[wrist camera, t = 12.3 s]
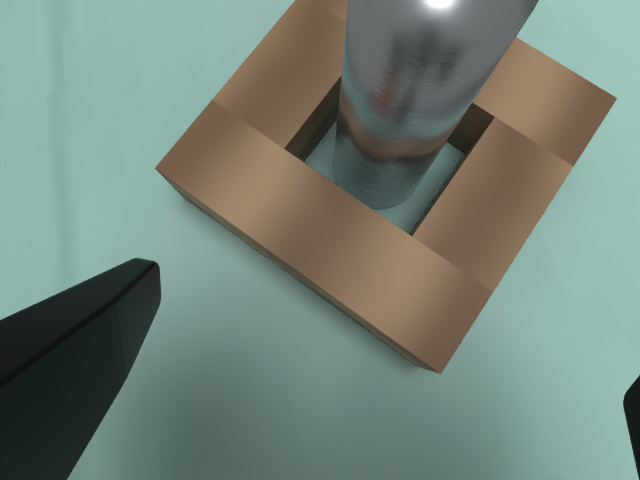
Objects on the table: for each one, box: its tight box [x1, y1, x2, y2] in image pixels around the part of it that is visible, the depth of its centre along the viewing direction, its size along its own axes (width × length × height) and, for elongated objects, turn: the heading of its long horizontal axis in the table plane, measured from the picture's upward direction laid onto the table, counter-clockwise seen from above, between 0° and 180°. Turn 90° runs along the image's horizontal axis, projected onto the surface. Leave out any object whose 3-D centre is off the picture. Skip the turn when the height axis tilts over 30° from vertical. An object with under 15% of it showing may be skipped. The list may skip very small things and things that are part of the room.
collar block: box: [155, 0, 617, 374], centre depth 21 cm, size 14×14×4 cm
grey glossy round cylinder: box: [334, 0, 538, 209], centre depth 17 cm, size 4×4×13 cm
